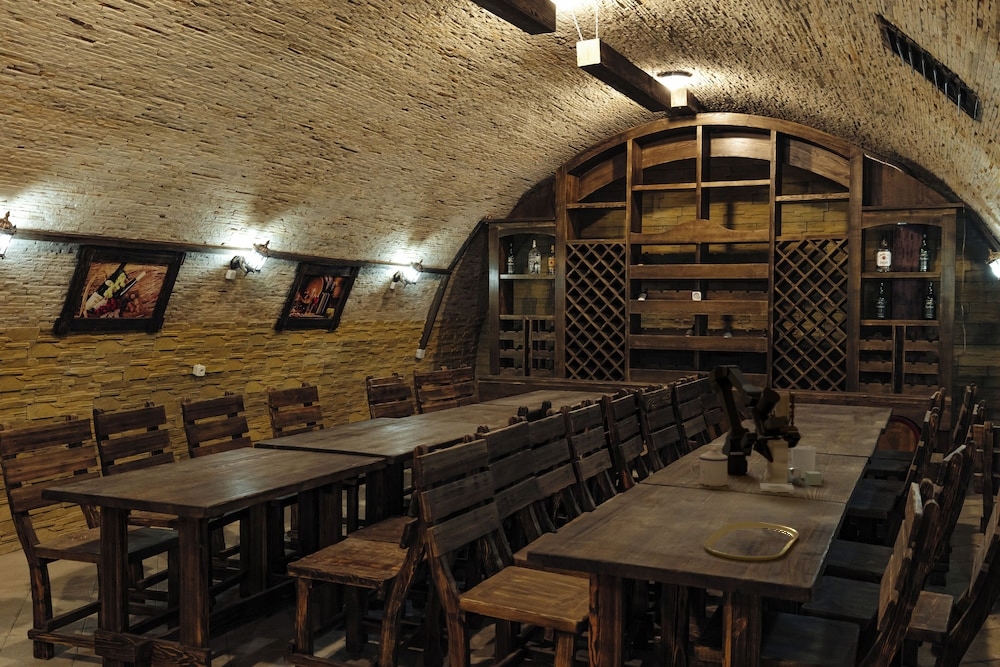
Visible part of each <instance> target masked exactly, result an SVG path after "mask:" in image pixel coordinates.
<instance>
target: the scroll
mask: <svg viewBox="0 0 1000 667" xmlns="http://www.w3.org/2000/svg"><path fill="white" fill-rule="evenodd" d="M773 390H774V391H776V390H775V389H773ZM777 393H778V392H777ZM778 394H779V395H780V401H779V403H778V404H777V406H776V408H775V409H774V411H773V412H772V413H769V414H770V416H771V417H781V416H787V417H788V419H789V425H788V426H786V427H784V428H782V429H781V433H786V432H792V431H797V432H799V428H798V427H797V426H795V421H794V420H795V415H794V414H795V408H796V406H795V398H796V394H792V392H791V390H790V389H789V390H788V392H787V393H785V392H783V393H782V392H780V393H778ZM790 409H791V410H790Z"/></svg>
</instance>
